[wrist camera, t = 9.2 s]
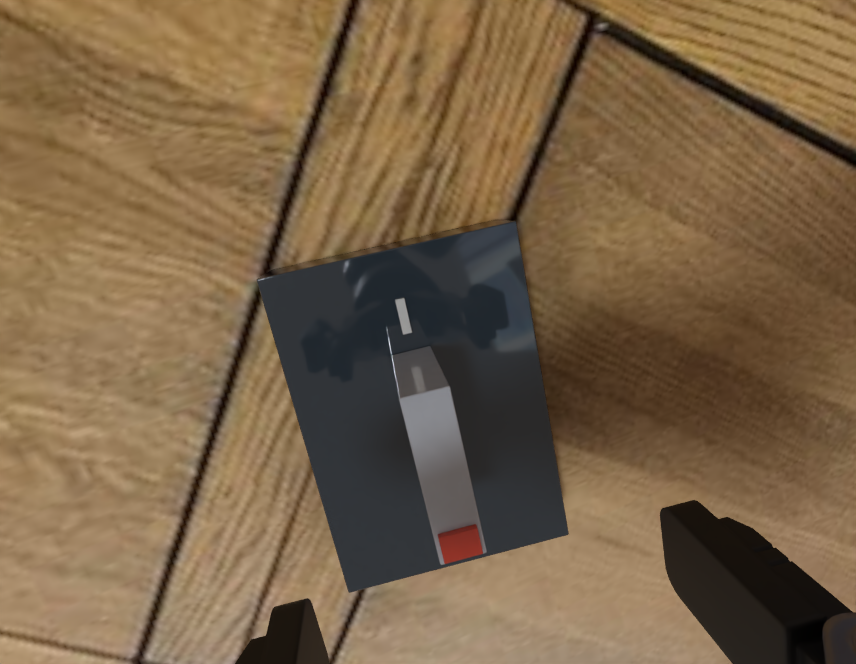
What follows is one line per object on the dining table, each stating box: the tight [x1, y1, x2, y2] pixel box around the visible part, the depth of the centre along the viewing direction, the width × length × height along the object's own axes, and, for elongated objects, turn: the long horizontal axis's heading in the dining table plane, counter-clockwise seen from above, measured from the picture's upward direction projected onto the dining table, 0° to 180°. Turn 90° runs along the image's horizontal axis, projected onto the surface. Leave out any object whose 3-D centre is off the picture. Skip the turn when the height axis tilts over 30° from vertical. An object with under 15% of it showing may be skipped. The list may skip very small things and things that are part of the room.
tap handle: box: [391, 346, 487, 565], centre depth 19 cm, size 6×2×5 cm, turn 13°
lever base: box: [257, 220, 569, 593], centre depth 23 cm, size 14×10×3 cm
